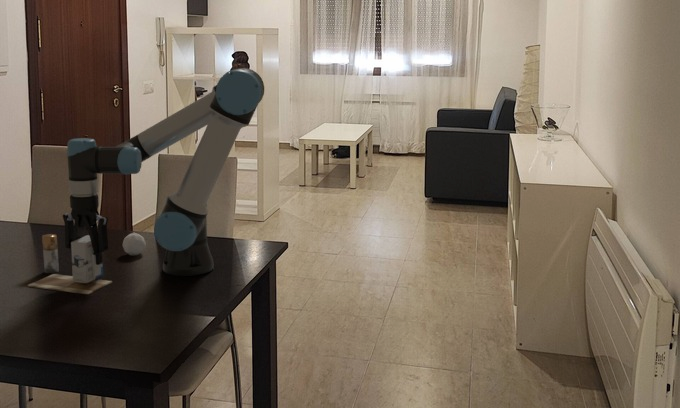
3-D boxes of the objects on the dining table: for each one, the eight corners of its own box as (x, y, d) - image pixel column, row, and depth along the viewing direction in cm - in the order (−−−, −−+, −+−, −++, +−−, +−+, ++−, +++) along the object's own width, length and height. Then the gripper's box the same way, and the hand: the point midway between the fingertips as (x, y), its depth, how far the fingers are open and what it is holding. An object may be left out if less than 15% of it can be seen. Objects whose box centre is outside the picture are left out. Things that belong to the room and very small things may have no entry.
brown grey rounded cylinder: (61, 270, 222) (59, 234, 220) (53, 273, 218) (50, 238, 216) (50, 268, 223) (48, 233, 221) (41, 272, 219) (39, 236, 217)
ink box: (89, 273, 216) (86, 234, 213) (104, 274, 214) (102, 235, 212) (72, 282, 207) (69, 241, 205) (88, 283, 206) (85, 243, 204)
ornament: (118, 256, 237) (118, 233, 240) (138, 260, 242) (138, 238, 245) (129, 249, 232) (130, 226, 236) (150, 253, 238) (150, 230, 241)
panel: (112, 282, 211) (112, 281, 211) (88, 294, 201) (88, 293, 201) (53, 275, 217) (53, 273, 217) (27, 286, 207) (27, 285, 207)
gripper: (120, 194, 206) (123, 273, 211) (65, 189, 212) (70, 266, 217) (103, 199, 199) (107, 281, 204) (47, 193, 205) (52, 273, 210)
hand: (88, 273), depth 211 cm, fingers closed on ink box, 5 cm apart
